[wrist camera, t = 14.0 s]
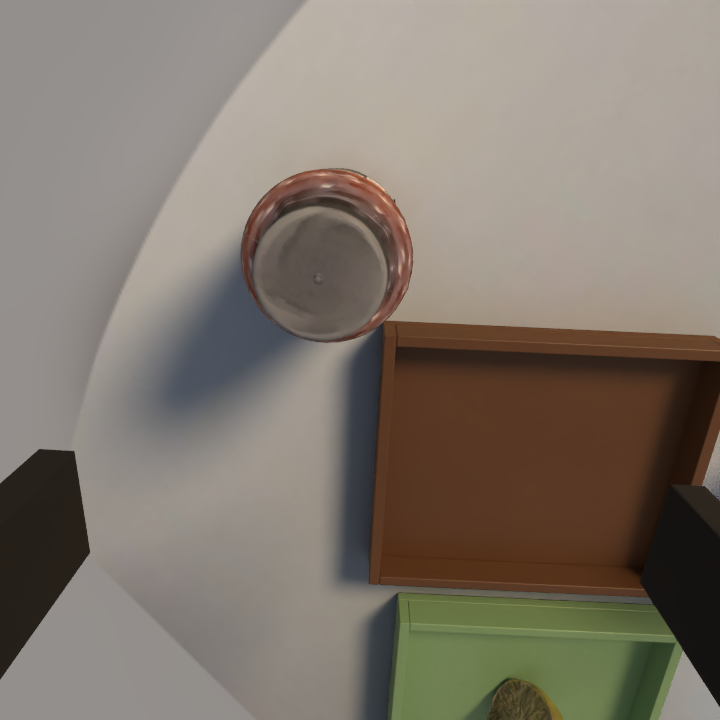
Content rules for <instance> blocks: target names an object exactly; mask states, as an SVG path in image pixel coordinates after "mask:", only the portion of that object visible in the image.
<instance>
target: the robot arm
mask: <svg viewBox="0 0 720 720" xmlns="http://www.w3.org/2000/svg"><path fill="white" fill-rule="evenodd" d="M89 553H90V549H89V542H88V536H87V529H86V523H85V517H84V510H83V504H82V497H81V491H80V485H79V478H78V472H77V465H76V459H75V453H74V451H61V450H44V449H39V450H38V451H37V452H36V453H35V454H33V455H32V456H31V457H30V458H29V459H28V460H27V461H25V462H24V463H23V464H22V465H21V466H20V467H19V468H17V469H16V470H15V471H14V472H13V473H12V474H11V475H10V476H8V477H7V478H6V479H5V480H4V481H3V482H2V483H0V679H1V678H2V676H3V675H4V673H5V672H6V670H7V669H8V668H9V666H10V665H11V664H12V662H13V661H14V659H15V658H16V656H17V655H18V654H19V652H20V651H21V649H22V648H23V647H24V645H25V644H26V642H27V641H28V639H29V638H30V637H31V635H32V634H33V632H34V631H35V630H36V628H37V627H38V625H39V624H40V622H41V621H42V620H43V618H44V617H45V615H46V614H47V613H48V611H49V610H50V608H51V607H52V605H53V604H54V603H55V601H56V600H57V598H58V597H59V595H60V594H61V593H62V591H63V590H64V589H65V587H66V586H67V584H68V583H69V582H70V580H71V578H72V577H73V576H74V574H75V573H76V571H77V570H78V569H79V567H80V566H81V565H82V563H83V562H84V560H85V559H86V557H87V556H88V555H89ZM640 584H641V585H642V587H643V588H644V590H645V591H646V593H647V594H648V596H649V598H650V599H651V601H652V602H653V604H654V605H655V607H656V608H657V610H658V612H659V613H660V615H661V616H662V618H663V619H664V621H665V622H666V624H667V626H668V627H669V629H670V630H671V632H672V633H673V635H674V636H675V638H676V640H677V641H678V643H679V644H680V646H681V647H682V649H683V650H684V652H685V654H686V655H687V657H688V658H689V660H690V661H691V663H692V664H693V666H694V668H695V669H696V671H697V672H698V674H699V675H700V677H701V678H702V680H703V682H704V683H705V685H706V686H707V688H708V689H709V691H710V692H711V694H712V696H713V697H714V699H715V700H716V702H717V703H718V705H719V706H720V501H719V500H718V499H717V498H716V497H715V496H714V495H713V494H712V493H711V492H710V491H709V490H708V489H707V488H706V487H705V486H694V485H676V484H670V485H669V489H668V492H667V495H666V498H665V502H664V505H663V508H662V511H661V514H660V518H659V521H658V524H657V527H656V531H655V534H654V537H653V540H652V544H651V547H650V550H649V553H648V556H647V560H646V563H645V566H644V569H643V573H642V576H641V579H640Z"/></svg>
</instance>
